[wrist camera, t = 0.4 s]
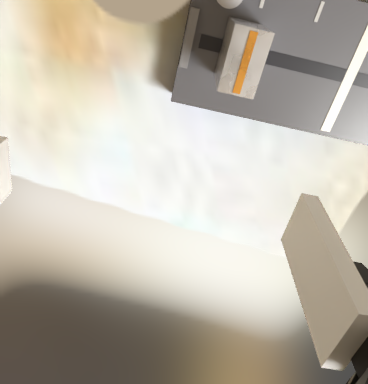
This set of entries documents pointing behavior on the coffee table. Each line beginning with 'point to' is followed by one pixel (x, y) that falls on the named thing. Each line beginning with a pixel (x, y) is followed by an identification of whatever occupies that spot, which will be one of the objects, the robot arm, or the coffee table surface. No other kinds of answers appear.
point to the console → (285, 64)
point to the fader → (242, 57)
